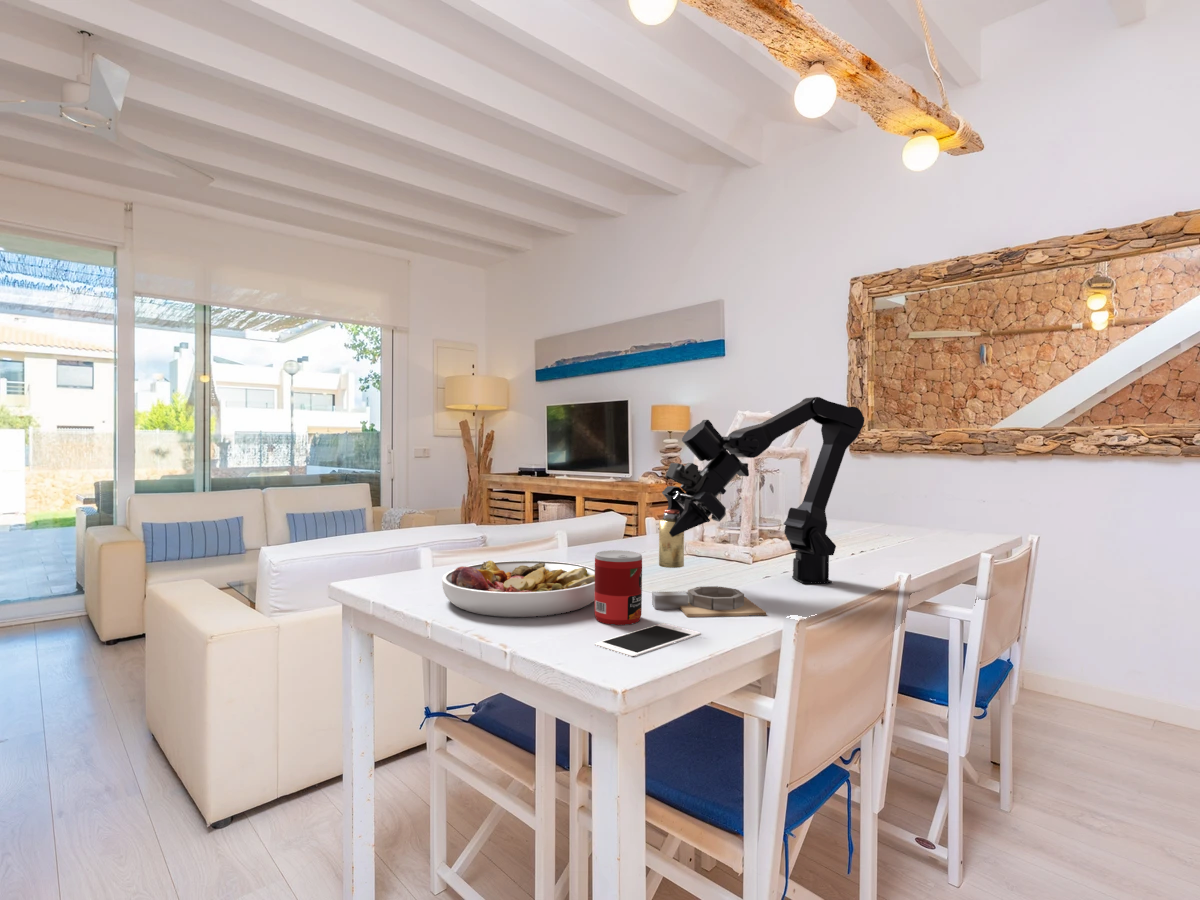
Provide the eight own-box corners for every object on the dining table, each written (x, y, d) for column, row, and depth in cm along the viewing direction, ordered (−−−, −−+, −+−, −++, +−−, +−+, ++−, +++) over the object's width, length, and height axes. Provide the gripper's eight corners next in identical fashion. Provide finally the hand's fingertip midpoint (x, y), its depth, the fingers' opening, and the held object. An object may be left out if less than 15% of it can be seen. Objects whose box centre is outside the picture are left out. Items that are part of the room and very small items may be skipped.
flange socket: (740, 596, 126) (740, 583, 126) (766, 615, 112) (766, 600, 112) (646, 597, 124) (646, 584, 124) (661, 617, 110) (661, 602, 110)
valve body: (680, 562, 133) (681, 508, 133) (686, 567, 128) (686, 511, 128) (656, 563, 132) (657, 509, 132) (661, 568, 127) (661, 511, 127)
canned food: (638, 627, 104) (638, 559, 104) (589, 623, 106) (590, 556, 106) (644, 614, 112) (645, 551, 112) (599, 611, 114) (599, 549, 113)
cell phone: (701, 636, 101) (701, 632, 101) (632, 660, 90) (632, 655, 90) (662, 626, 107) (662, 622, 107) (593, 647, 95) (593, 643, 95)
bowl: (536, 577, 143) (536, 542, 143) (636, 602, 122) (637, 560, 122) (411, 599, 122) (412, 558, 122) (506, 634, 101) (507, 583, 101)
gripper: (671, 448, 140) (622, 500, 137) (711, 449, 122) (657, 509, 119) (703, 484, 143) (657, 536, 139) (748, 490, 125) (695, 550, 122)
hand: (665, 532), depth 130 cm, fingers closed on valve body, 5 cm apart
